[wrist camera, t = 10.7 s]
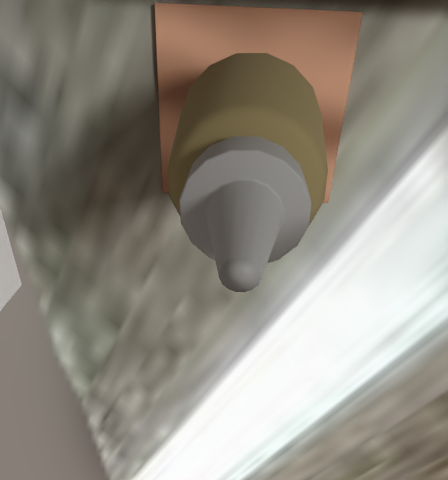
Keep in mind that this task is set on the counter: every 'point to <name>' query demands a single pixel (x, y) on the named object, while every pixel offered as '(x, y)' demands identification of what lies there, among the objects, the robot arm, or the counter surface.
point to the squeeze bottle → (248, 164)
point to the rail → (255, 41)
